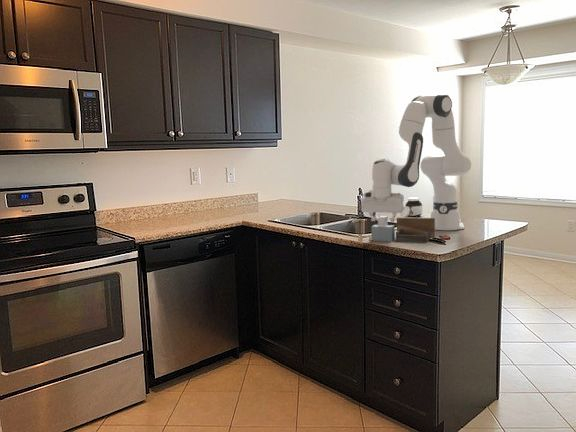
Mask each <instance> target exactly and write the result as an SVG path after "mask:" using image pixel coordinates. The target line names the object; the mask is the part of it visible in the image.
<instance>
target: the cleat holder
mask: <svg viewBox="0 0 576 432" xmlns="http://www.w3.org/2000/svg"><path fill="white" fill-rule="evenodd" d="M430 238H435V239H436V230H435V218H431V217H408V216H407V217H402V216H397V217H396V231H395V241H396V242H402V243H403V242H404V243H405V242H407V243H428V242H429V241H430V240H431V239H430Z"/></svg>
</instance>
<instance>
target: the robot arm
mask: <svg viewBox="0 0 576 432" xmlns="http://www.w3.org/2000/svg"><path fill="white" fill-rule="evenodd" d="M452 108H453V101H452V99H451V97H450V96H449V94H446V93H430V94H425V95H419V96H415V97H414V98H413V99H412V100H411V102H409V103H408V104H407V106H406V109H405V110H404V112H403V115H402V118H401V121H400V123H399V124H400V125H399V127H398V128H399V129H398V134H399V137H400V138H401V140H403V141H404V142H406V143H407V144H408V152H407V158H406V161H405V163H404V164H403V165H400V164H396V163H394V162H392V161H390V159H388V158H382V159H377V160H375V161H374V162H373V165H372V171H371V172H372V175H371V176H372V189H371V190H369V191H366V192H364V193H363V194H362V196H363V198H362V200H361V211H362V212H363V213H368V215H369V217H370V219H371V222H376V217H375V216H374V213H389V214H390V213H391V214H392V217H390V221H389V222H390V223H394V222H395V217H396V216H397V213H398V214H399V213H401V212H403V211H404V207H405V206H404V197H405V196H404V195H403V194H401V192H398V193H395V192H392V185H395V186H402V187H406V188H411V187H413V186H416V184H417V183H418V181H419V179H420V170H421V173H422V174H423V175H425V176H426V177H427V178H428V180H429V181H430V182H431V184H432V188H433V196H434V205H432V207H433V206H434V210H432V211H431V212H430V218H435V231H457V230H464V229H465V225H464V223H463V222H462V219H461V214H460V212H459V211H458V207H459V205H458V202H457V188H456V186H455V185H454V183H452V182H449V181H448V180H447V178H446V176H447V177H449V176H450V177H452V176H455V177H459V176H464V175H467V174H468V173H469V172H470V171H471V167H472V161H471V159H470V157H469V156H468V155H466V154H465V153H464V152H463V151H462V150H461V149H460V147H459V145H458V143H457V139H456V129H455V119H454V113H453V110H452ZM426 118H431V131H432V132H431V134H432V137H431V138H432V144H433V145H434V147H435V148H438V149H440V150H441V151H442V152H443V153H444V154H433V155H428V156H425V157H423V158H422V152H423V148H424V147H423V145H424V136H423V129H424V126H425V122H426ZM421 158H422V159H421Z"/></svg>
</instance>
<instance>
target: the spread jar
mask: <svg viewBox="0 0 576 432" xmlns="http://www.w3.org/2000/svg"><path fill="white" fill-rule="evenodd" d="M422 214H423V204H422V202H421V201H420V198H419V197H408V198H407V202H406V203H405V206H404V211H403V212H401V213H400V217H410V218H420V217H421V216H422Z"/></svg>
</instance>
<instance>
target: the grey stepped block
mask: <svg viewBox="0 0 576 432" xmlns="http://www.w3.org/2000/svg"><path fill="white" fill-rule="evenodd" d="M388 221H389V220H388V215H380V216H379V217H377V224H373V225H372V226H371V227H370V228H371V241H372V240H380V241H379V242H393V241H396V231H395V225H393V224H391V225H389V223H388Z"/></svg>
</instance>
